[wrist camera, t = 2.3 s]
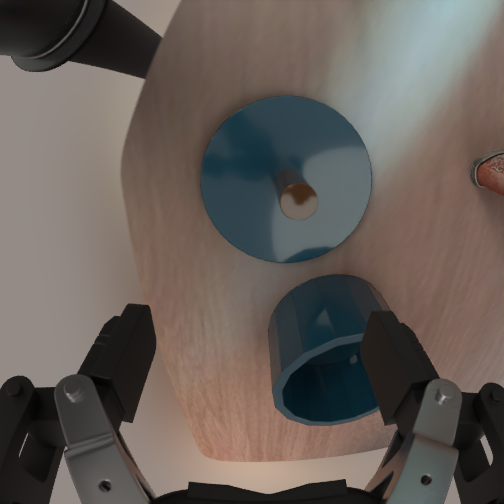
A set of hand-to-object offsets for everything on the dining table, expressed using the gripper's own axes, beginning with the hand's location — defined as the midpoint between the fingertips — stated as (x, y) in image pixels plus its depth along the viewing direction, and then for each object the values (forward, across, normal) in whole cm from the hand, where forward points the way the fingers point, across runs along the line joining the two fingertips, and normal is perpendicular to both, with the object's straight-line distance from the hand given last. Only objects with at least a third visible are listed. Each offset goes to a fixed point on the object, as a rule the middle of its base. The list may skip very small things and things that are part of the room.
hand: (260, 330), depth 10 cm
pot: (+15, -8, +13) cm, 22 cm away
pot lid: (+15, -2, -2) cm, 15 cm away
